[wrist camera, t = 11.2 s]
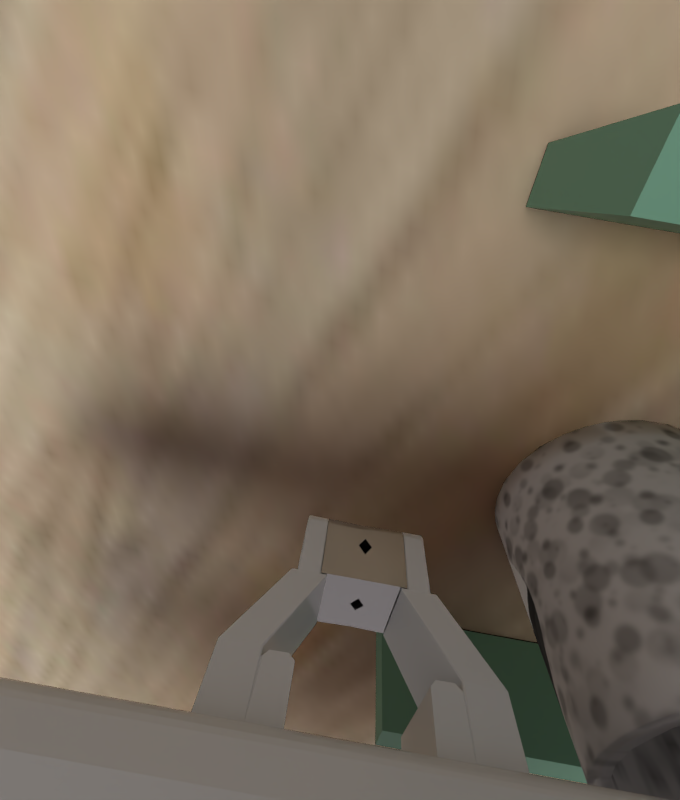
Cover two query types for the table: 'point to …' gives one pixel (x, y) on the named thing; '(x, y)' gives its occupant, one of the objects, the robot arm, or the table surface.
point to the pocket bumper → (600, 199)
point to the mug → (605, 592)
